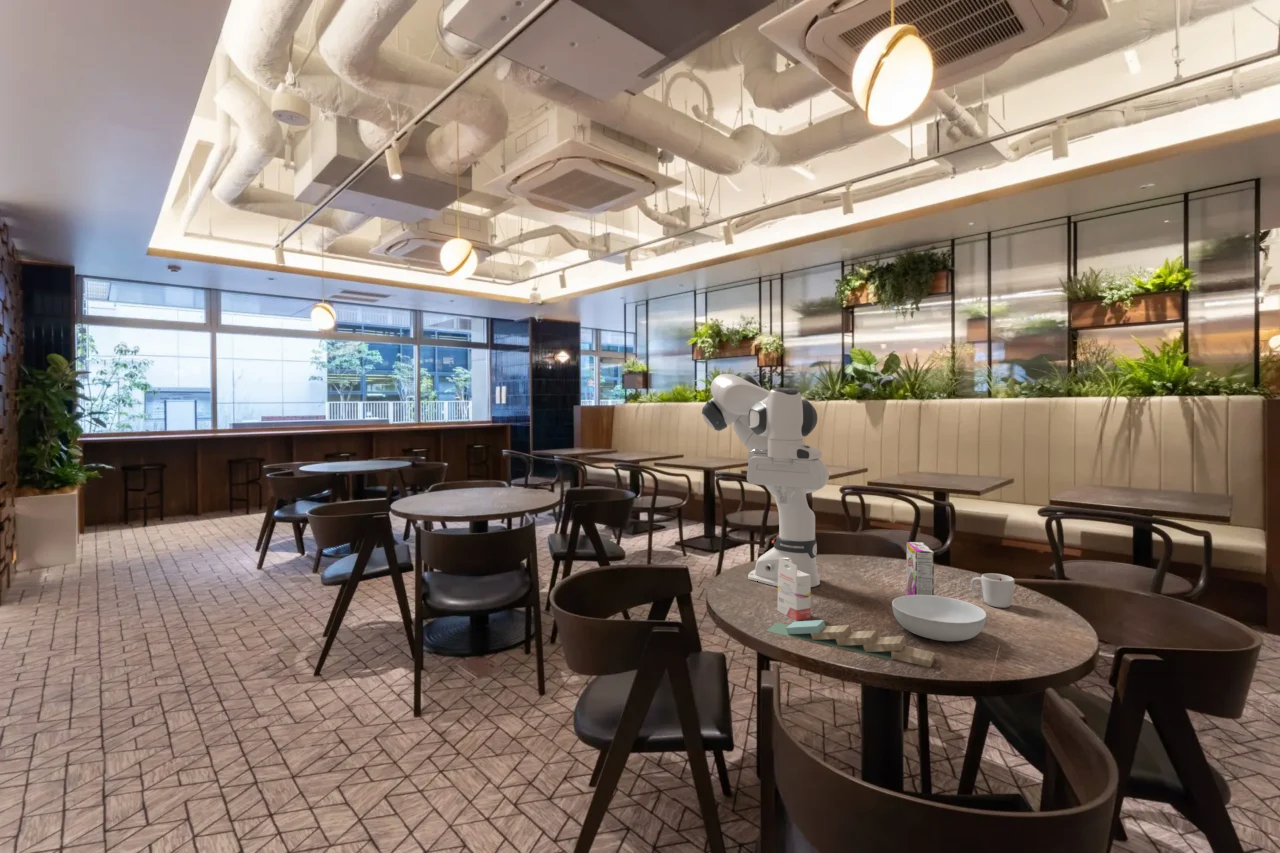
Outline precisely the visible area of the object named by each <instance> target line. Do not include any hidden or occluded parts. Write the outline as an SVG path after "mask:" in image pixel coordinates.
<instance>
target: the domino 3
mask: <svg viewBox="0 0 1280 853" xmlns="http://www.w3.org/2000/svg"><path fill="white" fill-rule="evenodd" d="M877 637H878V634H877V630H860V631H859V630H857V631H851V632H850V634H849V635H848V636H847V637H846V638H844V639H836V641H837V645H838V646H844V645H872V644H873V643H874V641H875V640H876V639H877Z"/></svg>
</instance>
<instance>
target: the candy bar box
mask: <svg viewBox="0 0 1280 853" xmlns="http://www.w3.org/2000/svg"><path fill="white" fill-rule="evenodd" d="M934 556H935V552H934V550H932V549H931V548H930V547H929V546H928V545H927V544H926V543H924V542H920V541H919V542H917V541H907V542H906V595H905V596H907V595H933V596H935V595H934V587H935V586H934V584H935V582H934V580H935V579H934V576H935V575H934V574H935V573H934V570H935V566H934V565H935V564H934V563H935V558H934Z"/></svg>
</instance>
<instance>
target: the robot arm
mask: <svg viewBox="0 0 1280 853" xmlns="http://www.w3.org/2000/svg"><path fill="white" fill-rule="evenodd" d="M710 393H711V394H710V395H711V396H712V398H711V399H710V400H707V401H706V402H705V404H704V406H703V407H702V410H701V415H702V418H703V420H704V422H705V424H706V426H708V427H710V428H711V429H714V431H717V432H720V431H723V430H725V429H726V428H728V427H729V425H732V428H733V431H734V432H735V434H736V436H737V437H738V438H739V440H740V441H741V442H742V444H743V445H744V446H745V447H746V449H747V450H748V454H747V463H748V465H747V472H746V481H747V483H748V484H749V485H756V486H757V485H759V486H765V488H766V489H767V491H768V492H769V493H770V494H771V495H772V496H773V498H774V500H775V504H776V507H777V511H778V526H779V529H778V534H777V535H776V537H774V538H773V539H772V540H771V544H773V547H772V548H770V549H769V550H768V551H766V552H765V553H763V554H761V555H760V556H759V557H758V558H757V560H756V562H755V567H754V569H753V570H751V571H750V572H749V573H748V575H747V576H748V577H747V578H748V580H750V581H754V582H757V581H758V583H762V584H767V585H770V586H774V587H777V588H778V566H779V559H782V560H785V561H788V562H790V563H792V564H795V565H797V570H799V571H801V572H804V573H806V574H809V575H811V588H813V587H814V588H815V587H818V586H819V585H820V584H821V581H820V577H819V573H818V568H817V559H816V558H817V553H818V551H817V550H818V547H817V546H818V545H817V538H816V515H815V512H814V511H813V510H812V509H811V508H810V506H809V504H808V499H807V494H812V493H814V492H815V493H816V492H817V491H819V490H822V489H823V488H824V487H825V486H826V485H827V484H828V482H829V479H830V471H829V469H828V467H827V465H826V464H825V463H824V462H823V460H822V459H820V458H822V454H823V452H822V450H821V449H819V448H816V447H813V446H810V445H807V444H805V443H804V437H807V436H809V435H810V433H812V432H813V430H814V429H815V428H816V426H817V424H818V413H817V410H816V409H815V407H814V406H813V404H812V403H811V402H810V401H808V400H807V399H803V398H802V395H801V394H802V393H801V392H800V391H799V390H798V389H796V388H793V387H780V386H779V387H774V388H772V389H770V390H767V389H765V388H764V387H762V385H761V384H760V382H759V381H758V380H757V379H756V378H754V376H753V377H752V376H751V375H750V374H743V375H741V376H737V375H735V374H732V373H721V374H719V375H718V374H717V376H715V378H714V379H713V380H712V382H711V384H710ZM785 568H791V567H789V566H788V565H785Z"/></svg>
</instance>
